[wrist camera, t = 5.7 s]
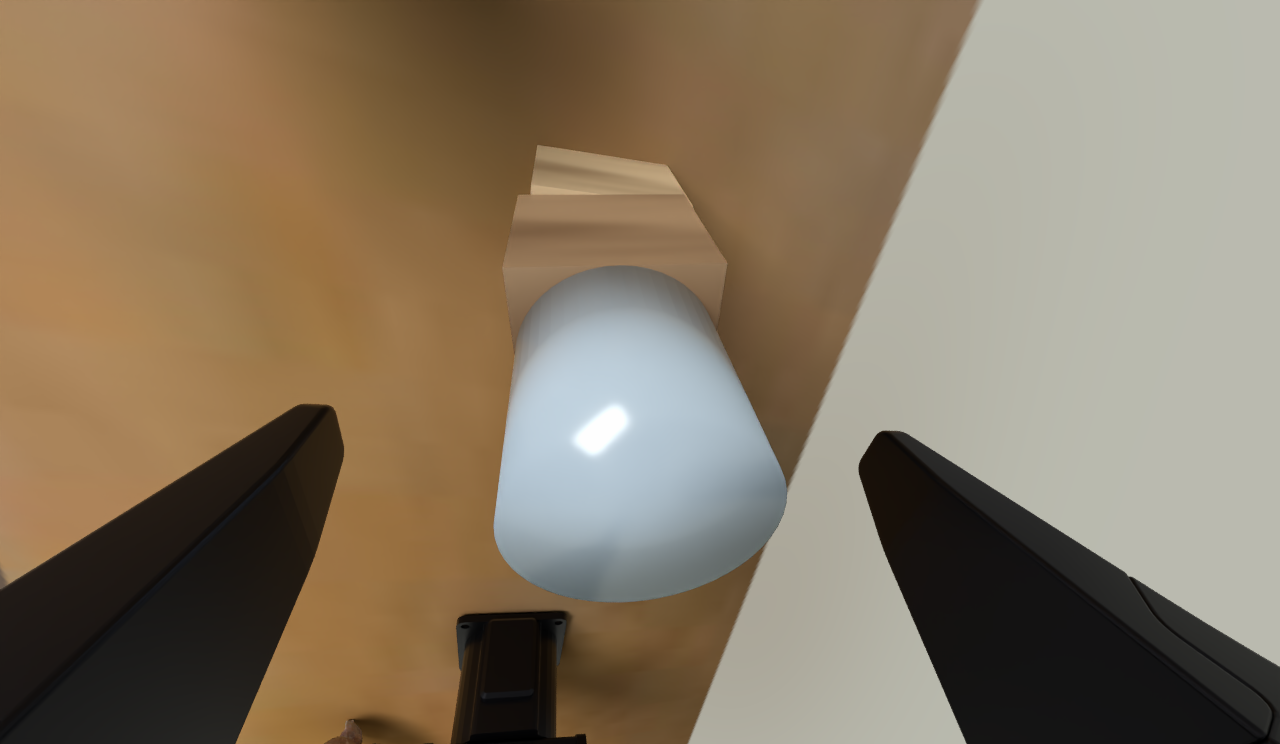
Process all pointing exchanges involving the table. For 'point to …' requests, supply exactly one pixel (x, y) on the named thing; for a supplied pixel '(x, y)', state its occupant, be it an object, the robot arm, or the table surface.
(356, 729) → the brown wrinkled rounded piece
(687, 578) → the pale blue rounded blob
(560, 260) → the tower top
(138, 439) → the table surface
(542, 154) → the tower base
